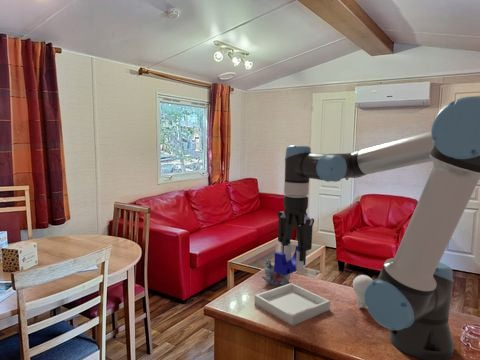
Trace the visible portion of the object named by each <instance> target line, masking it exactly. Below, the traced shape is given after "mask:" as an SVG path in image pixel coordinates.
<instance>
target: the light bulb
mask: <svg viewBox="0 0 480 360" xmlns="http://www.w3.org/2000/svg"><path fill="white" fill-rule="evenodd" d="M373 280H374V279H372V278H371V277H370V276H368V275H366V274H359V275H358V276H356V277H355V278H354V279H353V282H352V287H353V291H354V293H355V294H356V299H357V306H358V307H359V308H360V309H367V306H366V305H365V301H364V291H365V288H366V287H367V285H368V284H369V283H370V282H371V281H373Z"/></svg>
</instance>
